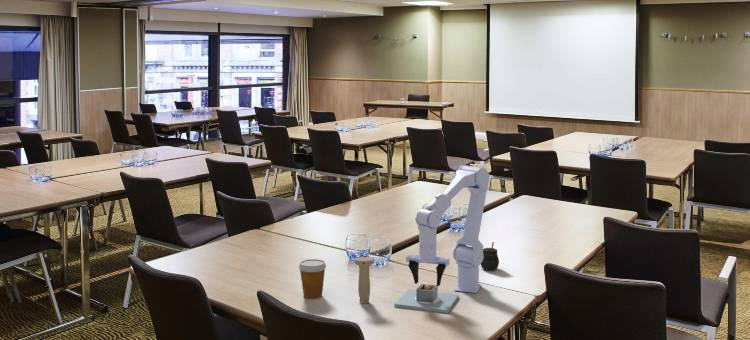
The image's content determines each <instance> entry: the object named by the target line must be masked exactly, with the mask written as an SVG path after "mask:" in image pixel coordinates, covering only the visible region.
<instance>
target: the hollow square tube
mask: <svg viewBox="0 0 750 340" xmlns="http://www.w3.org/2000/svg"><path fill="white" fill-rule="evenodd" d="M426 285H429V286H430V290H425V286H426ZM438 288H439V286H437V284H436V285H435V284H425V283H421V284H420V285H419V286H417V288H416V289H415V290H416V301H420V302H428V303H433V302H434V301H435V299H436V298H437V295H438V291H439V290H438Z"/></svg>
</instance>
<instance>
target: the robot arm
mask: <svg viewBox="0 0 750 340" xmlns="http://www.w3.org/2000/svg"><path fill="white" fill-rule="evenodd" d="M489 180H490V174H489V172H488V169H487V168H486V167H477V166H471V165H467V164H462V165H461V166H459V168H458V169H456V170H455V177H454V178H453V179H452V181H451V183H450V184H449V185H448V186H447V187H446V188H445V190H444V192H443V193H437V194H436V195H434V198H433V199H432V200H431V202H429V203H428V205H426V207H425V208H421V209H420V210H418V211H417V213H416V217H415V219H414V220H415V222H416V224H417V230H418V238H419V239H418V241H419V242H418V246H419V248H418V252H419V253H418V254H416V255H415V254H411V255H410V254H407V255H405V261H406V262H405V263H408V264H407V266H408V268H409V270H410V273H411V274H412V278H413V280H414V284H416V285H417V284H418V283H419V267H420V264H430V265H437V266H436V269H435V270H436V285H437V286H438V287H439V286H440V285H441V282H442V277H443V274H444V272H445V270H446V268H447V267H448V266H450V258H446V257H441V256H437V228H438V226H439V225H440V224H441V220H442V218H443V215H444V213H445V212H447V210H448V209H449V208H450V207H451V205H452V200H453V199H454V198H455V197H456V196H457V195H458V194H459V192H461V191H462V190H463V189H464V188H465V187H466V189H468V191H469V192H470V194H469V195H470V196H469V201H468V205H467V207H468V208H467V213H466V219H465V224H464V229H463V235H462V237H460V238H458V239H457V241H456V244H455V247H454V248H453V252H452V256H453V257H452V258H453V260H454V261H456V262H455V264H457V283H456V284H457V285H456V286H455V288H454V289H453V290H454V291H455V292H464V293H472V294H476V293H478V291H479V290H480V288H481V287H482V283H480V282H479V281H480V279H479V278H480V267H481V263H482V261H483V249H484V244H483V243H482V242H481V241H480V240H479V235H480V231H481V226H482V220H483V214H484V209H485V205H486V204H485V203H486V198H487V197H486V196H487V191H488V187H489V182H490V181H489Z"/></svg>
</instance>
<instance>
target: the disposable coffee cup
mask: <svg viewBox="0 0 750 340" xmlns="http://www.w3.org/2000/svg"><path fill="white" fill-rule="evenodd" d="M326 268H327V263H326V261H325V260H323V259H318V258H310V259H309V258H308V259H303V260H301V261H300V262H299V265H298V269H299V272H300V280H301V285H302V292H303V293H302V294H303V298H305V299H308V300H314V299H319V298H322V296H323V289H324V279H325V272H326V271H325V270H326Z"/></svg>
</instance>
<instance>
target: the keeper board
mask: <svg viewBox="0 0 750 340" xmlns="http://www.w3.org/2000/svg"><path fill="white" fill-rule="evenodd" d="M429 285H430V284H427V285H426V286H425V290H430V286H429ZM416 290H417V289H408V288H407V290H406V291H405V292H404V293H403V294H402V295H401V297H399V298H398V300H396V302H395V303H394V307H395V308H402V309H410V310H417V311H418V310H419V311H427V312H434V313H435V312H436V313H442V314H443V313H444V314H448V313H450V311H451V309H452V308H453V307H454V305H455V303H456V302H457V300H458V299H459V296H460V295H459V294H454V293H446V292H445V293H444V292H438V295H437V298H436V299H435V301H434V302H433V303H428V302H420V301H416Z"/></svg>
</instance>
